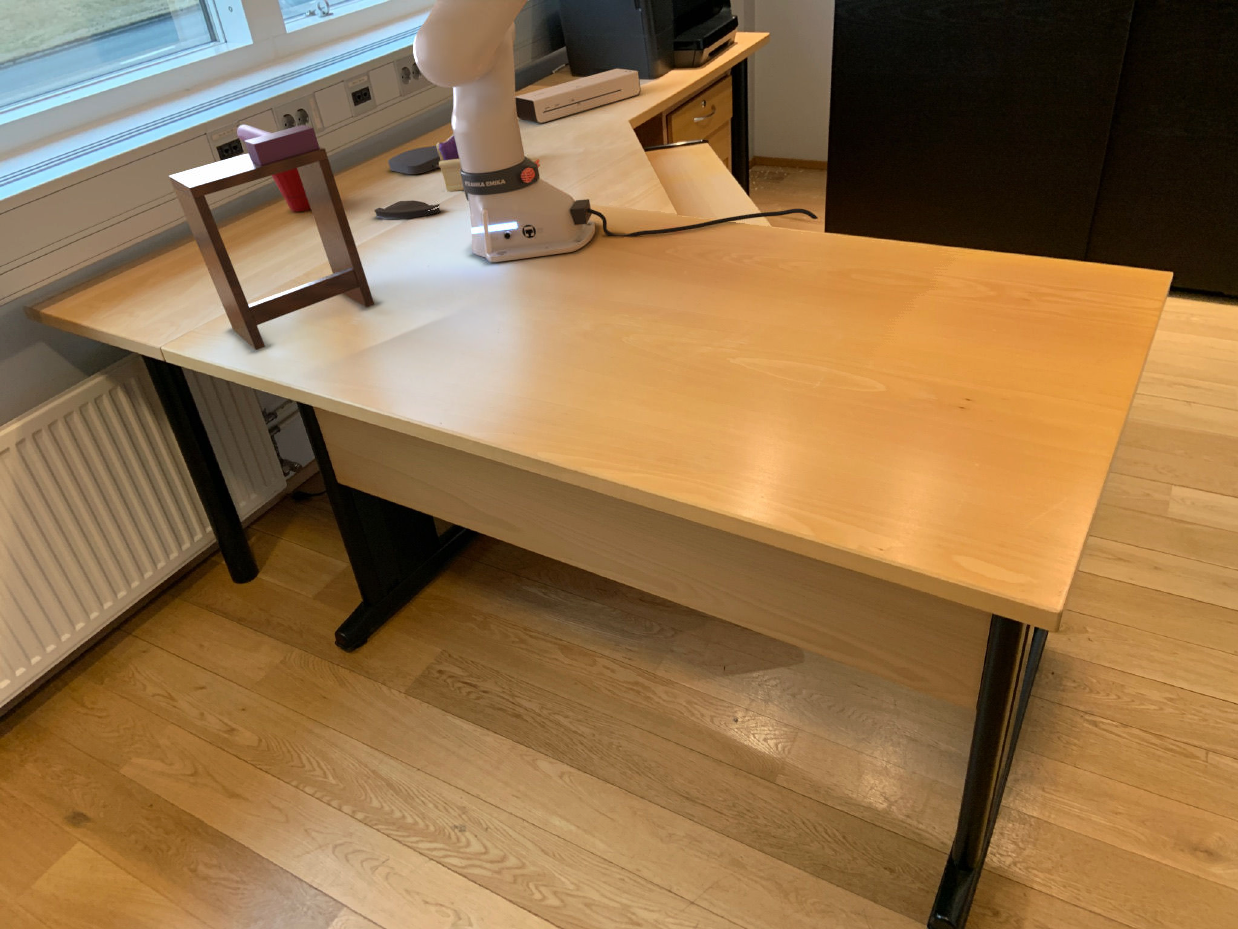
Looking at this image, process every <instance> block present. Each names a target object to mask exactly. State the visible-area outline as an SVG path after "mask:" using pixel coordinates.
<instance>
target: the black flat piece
mask: <svg viewBox="0 0 1238 929" xmlns="http://www.w3.org/2000/svg"><path fill="white" fill-rule="evenodd" d="M438 206H439V208H437V209H435V210H431V209H433V208H435V207H438ZM428 210H430V211H428ZM373 211H374V213H375V215H376V218H377V219H382V220H407V219H414V218H420V217H425V216H429V215H435V214H439V213H441V209H440V203H437V204H434V205H433V204H428V203H426V202H423V201H421V200H420V201H419V200H413V199H412V200H399V201H397V202H395V203H392V204H390V205H388V206H387V207H385V208H384V207H378V208H375V209H374V210H373Z"/></svg>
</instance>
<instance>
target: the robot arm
mask: <svg viewBox="0 0 1238 929" xmlns="http://www.w3.org/2000/svg"><path fill="white" fill-rule="evenodd" d="M528 1H529V0H436V2H435V3H434V5H433V7H432V9H431V11H430V12H429V14H428V15H427V17H426V19H425V21H424V22H423V23H422V25H421V26H420V28H419V29H418V31H417V32H416V34H415V36H414V39H413V45H412V46H413V47H412V48H413V49H412V50H413V51H412V52H413V57H414V61H415V64H416V66H417V68H418V70H419V72H420V74H422V76H423V77H424V78H425V79H426V80H427V81H429V82H430V83H432V84H434V85H435V86H438V87H441V88H452V91H453V92H452V94H453V96H452V97H453V105H452V106H453V107H452V112H451V120H450V122H451V123H450V124H451V129H452V133H453V134H454V138H455V142H456V146H457V151H458V155H459V159H460V163H461V167H462V168H461V170H460V174H461V179H462V185H463V189H464V190H463V192H464V195H465V198H466V202H468V206H469V214H470V223H471V228H470V230H471V248H470V249H471V252H472V253H473V254H474V255H477V256H479V257H483V258H485V259H486V260H487V261H488V262H490V263H500V262H506V261H514V260H522V259H529V258H535V257H536V258H537V257H544V256H551V255H552V256H553V255H558V254H559V255H560V254H564V253H565V254H566V253H573V252H575V251H578V250H579V249H581V248H584V246H586V245H587V244H588V243H589V242H590V241H591V240H592V238H593V237H594V235H595V233H596V226H595V223H594V220H592V219H591V217H592V215H594V216H596V217H598V218H600V219H601V221H602V230H603V232H604V234H606V235H607V236H608V237H620V238H621V237H623V238H634V237H639V236H640V237H641V236H649V235H660V234H661V235H662V234H670V233H677V232H684V231H689V230H695V229H700V228H705V227H710V226H714V225H720V224H725V223H730V222H735V221H741V220H742V221H743V220H750V219H756V218H766V217H767V218H768V217H781V216H785V215H791V214H804V215H806V216H808V217H809V218H811V219H812V220H818V218H819V217H818V216H817V215H816V214H815V213H813V212H812V211H810V210H808V209H804V208H791V209H790V208H789V209H785V210H779V211H778V210H777V211H766V212H755V213H748V214H741V215H736V216H729V217H723V218H719V219H714V220H709V221H705V222H699V223H695V224H689V225H683V226H682V225H681V226H676V227H668V228H662V229H649V230H648V229H647V230H638V231H634V232H630V233H627V234H614V233H613V232H611V231H609V230H608V222H607V221H608V220H607V218H606V216H605V215H604V214H603V213H602V212H600V211H598V210H595V209H593V208H591V202H590V199H589V198H587V199H586V198H585V199H576V200H575V199H574V198H573V197H572V196H571V195H570V194H569V193H567V192H565V191H563V190H561V189H560V188H558V187H556V186H554V185H553V184H551V183H549V182H547V181H546V180H544V179H543V178H541V177H540V171H539V167H540V166H541V164H540V160H539V159H537V160H536V161H533V160H532V159H530V158H529V157H527V156H526V155H525V149H524V145H523V144H524V143H523V140H522V135H521V129H520V128H521V127H520V123H519V118H518V116H517V111H516V100H515V97H516V75H515V74H516V72H515V56H514V55H515V54H514V52H515V51H514V47H515V40H516V24H515V22H514V21H515V20H516V19H517V17H518V16H519V14H520V13H521V11H522V10H523V8H524V7H525V5H526V3H527V2H528ZM453 134H452V135H453Z"/></svg>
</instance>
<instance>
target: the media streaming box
mask: <svg viewBox="0 0 1238 929" xmlns="http://www.w3.org/2000/svg"><path fill="white" fill-rule="evenodd" d="M439 161H441V160H440V156H439V153H438V151H437V147H436V145H431V146H423V147H417V148H413V149H409V150H406V151H404V152H401V153H399V154H397V155H396V154H395V155H394V156H393V157H391V158H390V159H388V160H387V163H388V166H389V169H390V171H393V172H396V173H401V174H406V175H418V174H423V173H427V172H429V171H433V170H436V169H440V167H439Z"/></svg>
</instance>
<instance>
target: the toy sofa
mask: <svg viewBox="0 0 1238 929" xmlns="http://www.w3.org/2000/svg"><path fill="white" fill-rule="evenodd" d="M435 146H436V147H437V151H438V153H439V156H440V160H441V161H439V169H440V171H441V173H442V177H443V181H444V185H445V189H446V191H447V192H456V191H464V189H463V185H462V179H461V174H460V170H461V168H462V167H461V163H460V159H459V155H458V151H457V146H456V142H455V138H454V134H451V136H449V137H448V138H446V140H444V141H443V142H442V141H441V142H437V143H436V145H435Z"/></svg>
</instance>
